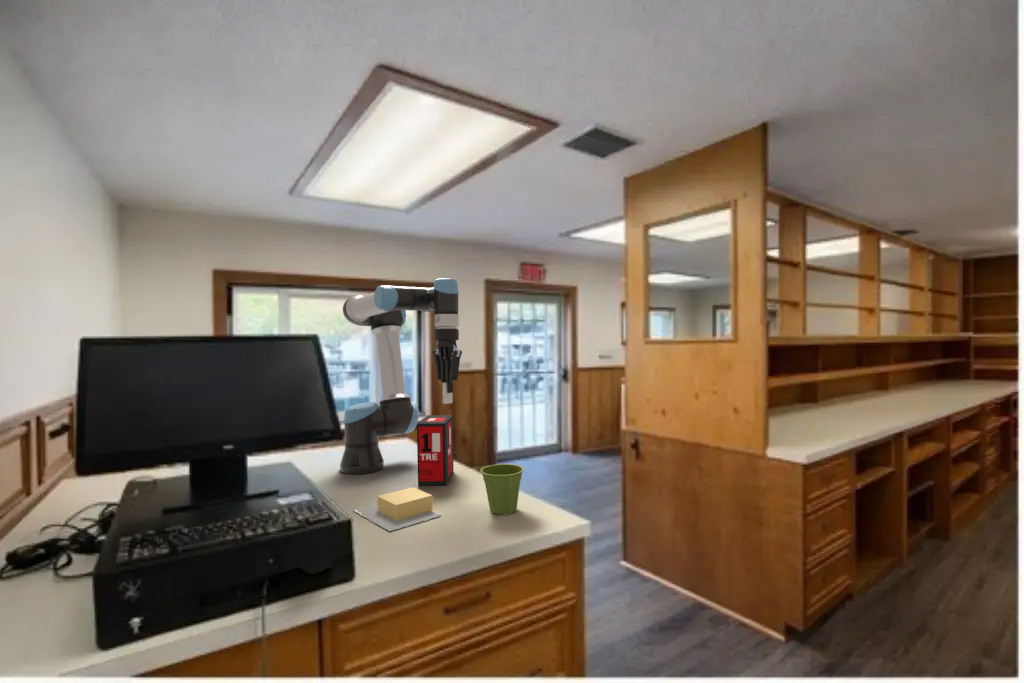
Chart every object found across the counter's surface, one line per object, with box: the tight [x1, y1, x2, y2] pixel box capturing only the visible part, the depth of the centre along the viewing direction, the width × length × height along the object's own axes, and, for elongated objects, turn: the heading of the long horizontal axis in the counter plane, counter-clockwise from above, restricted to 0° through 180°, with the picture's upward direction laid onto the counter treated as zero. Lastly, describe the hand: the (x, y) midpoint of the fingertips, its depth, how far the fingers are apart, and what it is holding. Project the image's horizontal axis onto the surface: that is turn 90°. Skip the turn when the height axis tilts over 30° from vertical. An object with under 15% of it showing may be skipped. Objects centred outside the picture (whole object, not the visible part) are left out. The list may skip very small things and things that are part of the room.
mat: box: [356, 503, 442, 533], centre depth 132 cm, size 20×15×1 cm
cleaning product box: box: [416, 414, 454, 487], centre depth 164 cm, size 16×9×20 cm, turn 179°
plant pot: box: [480, 463, 525, 516], centre depth 133 cm, size 12×12×11 cm
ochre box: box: [377, 486, 434, 521], centre depth 134 cm, size 10×4×11 cm
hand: (447, 403), depth 155 cm, fingers closed
